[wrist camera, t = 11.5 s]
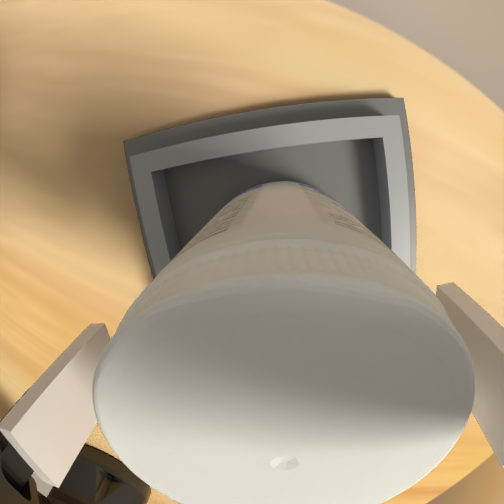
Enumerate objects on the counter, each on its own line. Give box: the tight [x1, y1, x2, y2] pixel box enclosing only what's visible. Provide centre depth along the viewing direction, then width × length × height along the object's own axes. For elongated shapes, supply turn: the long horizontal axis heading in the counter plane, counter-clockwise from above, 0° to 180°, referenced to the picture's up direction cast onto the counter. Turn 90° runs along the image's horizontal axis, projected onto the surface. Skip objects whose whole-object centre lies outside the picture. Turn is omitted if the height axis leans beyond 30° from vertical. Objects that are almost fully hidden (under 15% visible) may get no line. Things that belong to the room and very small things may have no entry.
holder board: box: [123, 98, 417, 279], centre depth 19 cm, size 18×18×3 cm
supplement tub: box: [92, 181, 475, 504], centre depth 13 cm, size 10×10×15 cm
